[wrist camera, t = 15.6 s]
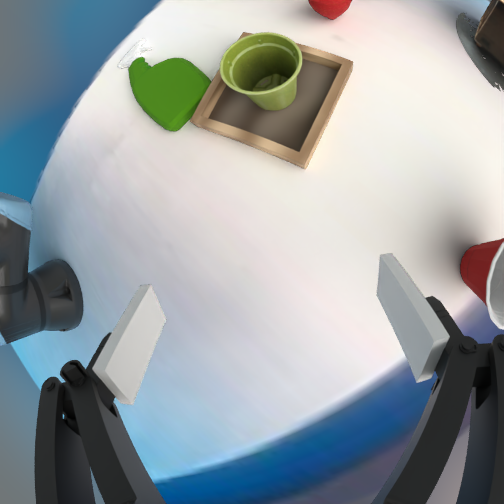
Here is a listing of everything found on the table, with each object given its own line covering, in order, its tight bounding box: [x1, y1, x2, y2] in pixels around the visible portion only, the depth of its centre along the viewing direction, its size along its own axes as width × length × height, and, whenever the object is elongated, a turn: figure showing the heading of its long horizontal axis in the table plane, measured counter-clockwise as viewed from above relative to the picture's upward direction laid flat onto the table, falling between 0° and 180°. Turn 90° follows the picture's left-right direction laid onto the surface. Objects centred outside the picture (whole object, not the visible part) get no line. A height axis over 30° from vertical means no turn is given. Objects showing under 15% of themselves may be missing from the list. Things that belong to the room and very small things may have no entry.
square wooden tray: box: [190, 32, 353, 169], centre depth 32 cm, size 17×17×2 cm
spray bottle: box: [118, 39, 211, 131], centre depth 37 cm, size 3×11×24 cm
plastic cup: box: [460, 238, 504, 329], centre depth 22 cm, size 11×11×12 cm
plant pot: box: [220, 32, 302, 111], centre depth 29 cm, size 9×9×9 cm
